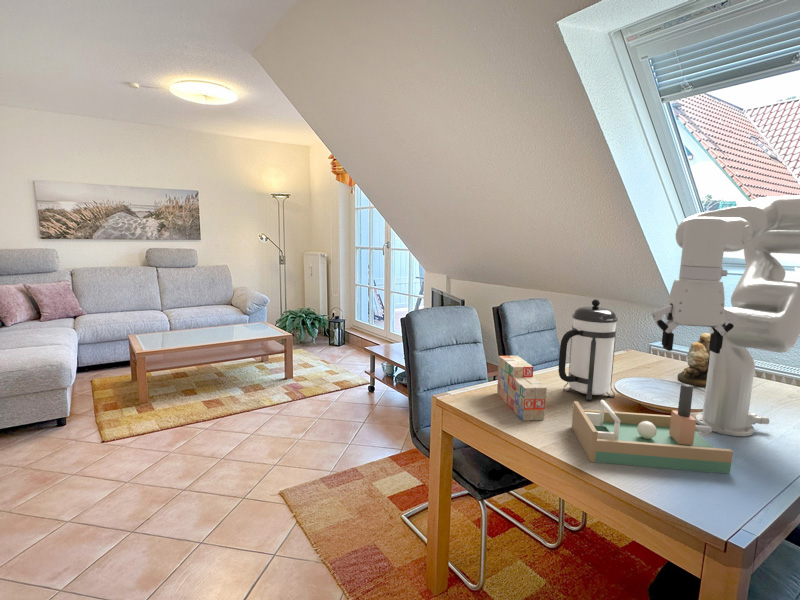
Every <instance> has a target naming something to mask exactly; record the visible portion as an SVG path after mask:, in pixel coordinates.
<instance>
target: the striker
mask: <svg viewBox="0 0 800 600" xmlns="http://www.w3.org/2000/svg"><path fill="white" fill-rule="evenodd" d="M693 392H694V386H692V385H689V384H685V383H681V384H680V391H679V399H678V407H677V410H673V409H672V410H671V414H670V416H671V421H670V430H669V435H670V436H671V437H672V438H673V439H674V440H675V441H676V442H677V443H678V444H684V445H693V442H694V434H695V431H696V432H697V433H698V432H699V433H711V432H713V431H712V428H711V427H709V426H700V425H699V424H697V422H696V419H695V417H694V416H692V415H691V412H692V411H691V410H692V402H693V400H692V399H693V395H694V394H693Z"/></svg>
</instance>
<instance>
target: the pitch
mask: <svg viewBox="0 0 800 600" xmlns="http://www.w3.org/2000/svg"><path fill="white" fill-rule="evenodd" d="M599 403H600V407H599V410H597V409H584V408H583V407H582V406H581V404H580V402H579V401H577V400H574V401H573V403H572V404H573V405H572V407H573V409H572V418H571V428H572V430H573V432H574V434H575V436H576V437H577V440H578V441H579V444H580V446H581V447H582V449H583V451H584V452H585V454H586V456H587V458H588V460H589V462H591V463H602V464H603V463H604V464H613V465H614V464H615V465H627V466H636V467H649V468H659V469H660V468H662V469H670V470H682V471H683V470H684V471H691V472H693V471H694V472H704V473H705V472H706V473H717V474H727V475H730V474H731V469H732V464H733V463H732V462H733V455H734V454H733V453H734V451H733V450H732V449H731V448H719V447H714V446H713V445H712V444H711V443H710V442H708V440H706V439H705V438H703V436H701V435H700V434H699V433H698V432H696V431H695V434H694V442H693V445H684V444H678V443H677V442H676V441H675V440H674V439H673V438H672V437H671V436H670V435H669V430H670V421H671V414H670V415H667V414H666V415H665V414H655V413H654V414H653V413H641V412H638V413H637V412H629V411H628V412H625V411H613V410H612V409H611V407H610V406H609V404H608V403H607V401H605V400H604V399H601V400H600V401H599ZM643 421H648V422H651V423H652V424H654V425H655V427H656V429H657V433H656V435H655V437H653V438H651V439H645V438H643V437H641V436H640V435H639V434H638V431H637V427H638V425H639V423H641V422H643Z"/></svg>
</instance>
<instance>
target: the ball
mask: <svg viewBox="0 0 800 600" xmlns="http://www.w3.org/2000/svg"><path fill="white" fill-rule="evenodd" d="M637 431H638V434H639V435H640V436H641V437H643V438H645V439H651V438H653V437H655V435H656V433H657V429H656V427H655V425H654V424H652V423H651V422H648V421H643V422H641V423H639V425H638V427H637Z"/></svg>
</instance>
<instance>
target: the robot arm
mask: <svg viewBox="0 0 800 600" xmlns="http://www.w3.org/2000/svg"><path fill="white" fill-rule="evenodd" d="M675 231H676V232H675V241H676V243H677V246H678V247H680V248H681V249H682V250H681V257H680V258H681V259H680V266H679V275H678V276H679V277H678V279H677V278H676V279H674V281H673V282H672V286H671V289H670V292H669V295H668V301H667V305H665V306H663V307H661V308H659V309H656V310H654V311H652V312H651V315H652V317H653V320H654V321H655V324H656V325H657V326H658V328H660V330H661V331H662V336H661V337H662V338H661V345H662V348H663V349H664V350H666V351H667V352H671V351H673V347H674V345H673V344H674V339H675V334H674V333H673V331H674V330H676V329H677V327H679V326H687V327H700V328H701V327H705V328H708V327H709V333H710V344H709V350H710V359H709V367H708V375H707V383H706V387H705V392H704V401H703V407H702V409H703V410H702V412H700V413H698V414H697V413H696V414H695V417H694V419H696V424H697V425H699V426H709V427H711V428H712V431H711V432H714V433H718V434H722V435H727V436H734V437H749V436H752V435H754V434H755V433H754V432H755V428H754V426H753V425H756V424H759V425H769V424H770V418H769V417H768V416H759V415H757V413H751V412H750V405H751V398H752V391H753V383H754V375H755V372H756V371H755V369H756V364H755V360H754V358H753V356H752V354H751V353H750V351H749V350H748V349H749V348H750V349H754V350H761V351H767V352H772V353H779V354H780V353H781V354H782V353H787V352H789V351H791V350H792V349H793V348H794V346H795V344H796V342H797V341H798V339H799V336H800V282H799V281H791V280H784V279H785V277H786V270H785V268H784V267H783V265H782V264H781V263H780V262H779V260H777V258H775V257H774V256H773V255H771V254H793V255H794V254H795V255H800V195H798V194H797V195H783V196H782V195H780V196H778V195H777V196H765V197H764V196H763V197H762V196H761V197H759V198H756V199H752V200H751V201H748V202H746V203H742V204H740V205H736V206H731V207H726V208H721V209H717V210H716V209H715V210H710V211H704V212H700V213H695V214H694V215H690V216H688V217H687V218H684V219H683V220H682V221H681V222H680V223H679V224H678V226H677V229H676V230H675ZM742 250H743V254H744V260H745V261H744V262H745V269H744V271H743V273H742V275H741V277H740V278H739V281H738V282H737V284H736V286H735V287H734V290H733V292H732V295H731V297H730V304H731V306H728V307H727V306H725V305H726V304H725V301H726V300H725V299H726V298H725V288H724V282H723V281H721V280H722V277H727V276H728V270H727V269H724V268H723V261H724V260H723V259H724V252H726V253H727V252H728V253H729V252H730V253H734V252H740V251H742ZM664 315H665V319H666V320H667V321H666V322H665V321H664V320H663V318H662V317H663V316H664Z"/></svg>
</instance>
